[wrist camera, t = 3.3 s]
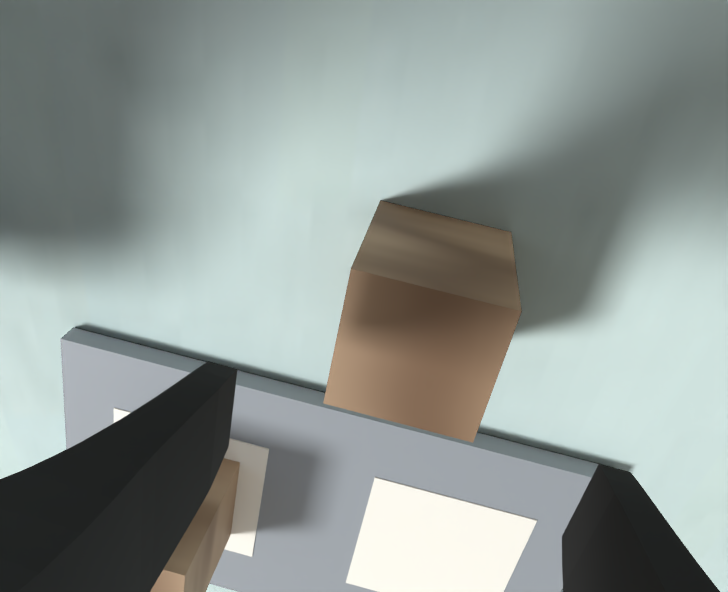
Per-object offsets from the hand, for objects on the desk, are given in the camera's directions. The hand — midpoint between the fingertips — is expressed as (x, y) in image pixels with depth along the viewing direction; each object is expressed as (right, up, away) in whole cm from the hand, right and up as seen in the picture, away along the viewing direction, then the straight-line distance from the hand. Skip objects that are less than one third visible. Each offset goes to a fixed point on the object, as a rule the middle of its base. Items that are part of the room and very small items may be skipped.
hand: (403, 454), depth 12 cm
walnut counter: (+1, +4, +7) cm, 8 cm away
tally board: (-3, -5, +13) cm, 14 cm away
